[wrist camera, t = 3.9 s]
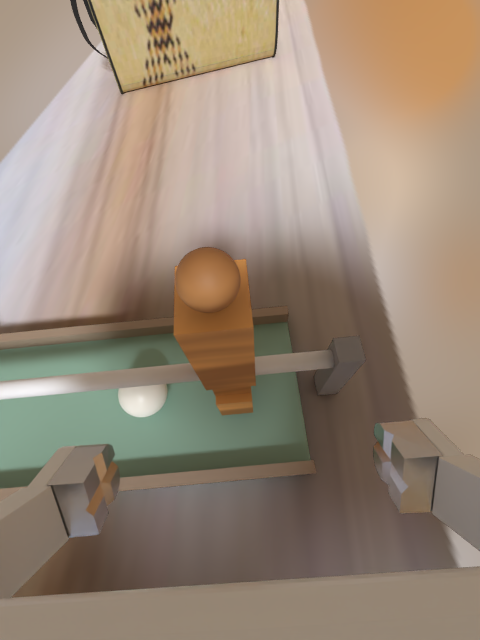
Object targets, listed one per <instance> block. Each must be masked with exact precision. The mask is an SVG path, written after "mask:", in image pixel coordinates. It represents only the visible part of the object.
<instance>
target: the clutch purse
mask: <svg viewBox="0 0 480 640" xmlns="http://www.w3.org/2000/svg"><path fill="white" fill-rule="evenodd" d="M70 1H71V5H72V9H73V13H74V16H75V18H76V21H77V23H78V26H79V28H80V30H81V32H82V34H83V37H84V38H85V40H86V41H87V42H88V44H90V46H91V47H92V48H93V49H95V50H96V51H97V52H98V53H100V52H99V51H98V50H97V49H96V48H95V47H94V46H93V45H92V44H91V42H90V41H89V39H88V37H87V34H86V32H85V30H84V28H83V25H82V22H81V20H80V17H79V14H78V9H77V4H76V0H70ZM83 1H84V4H85V6H86V9H87V12H88V14H89V17H90V19H91V21H92V22H93V24H94V25H95V27H96V28H97V29H98V31H99V34H100V37H101V40H102V43H103V45H104V48H105V51H106V54H107V57H106V56H104V55H103V54H102V53H100V54H101V55H103V56H104V57H106V58H108V59H109V62H110V65H111V68H112V70H113V73H114V76H115V79H116V82H117V84H118V87H119V90H120V92H121V94H123V92H127V91H131V90H135V89H139V88H143V87H147V86H151V85H156V84H160V83H164V82H168V81H172V80H176V79H180V78H184V77H188V76H193V75H197V74H201V73H205V72H209V71H213V70H217V69H221V68H225V67H229V66H234V65H238V64H242V63H246V62H250V61H254V60H258V59H262V58H266V57H271V56H272V57H274V56H275V54H276V49H277V38H278V15H279V0H83Z"/></svg>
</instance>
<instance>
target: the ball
mask: <svg viewBox="0 0 480 640" xmlns="http://www.w3.org/2000/svg"><path fill="white" fill-rule="evenodd" d="M167 393H168V390H167V385H166V384H160V385H150V386H139V387H129V388H119V390H118V399H119V403H120V405H121V407H122V408H123V410H124V411H125V412H127V413H128V414H130V415H132V416H135V417H148V416H151V415H153V414H155V413H156V412H158V411H159V410H160V409H161V408H162V407H163V405H164V403H165V401H166V398H167Z"/></svg>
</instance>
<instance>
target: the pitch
mask: <svg viewBox="0 0 480 640" xmlns="http://www.w3.org/2000/svg"><path fill="white" fill-rule="evenodd" d="M251 310H252V319H253V328H254V353H255V377H256V386H251V393H252V403H253V413H243V414H232V415H222V414H221V413H220V411H219V409H218V407H217V406H216V396H215V394H214V392H213V390H206V389H205V388H204V386H203V384H202V383H201V381H200V379H199V377H198V376H197V374H196V372H195V371H194V369H193V367H192V365H191V364H190V362H189V360H188V359H187V357H186V355H185V354H184V352H183V350H182V348H181V347H180V345H179V343H178V342H177V340H176V338H175V337H174V317H167V318H157V319H147V320H137V321H127V322H116V323H106V324H96V325H86V326H76V327H66V328H55V329H45V330H35V331H25V332H15V333H4V334H0V501H2V500H4V499H5V498H7V497H8V496H10V495H11V494H13V493H15V492H16V491H18V490H19V489H21V488H27V487H28V486H29V484H30V483H31V482H32V481H33V479H34V478H35V477H36V476H37V474H38V473H39V472H40V471H41V470H42V468H43V467H44V466H45V465H46V463H47V462H48V461H49V460H50V458H51V457H52V456H53V455H54V453H55V452H56V451H57V450H58V449H59V448H61V447H65V446H79V445H96V444H110V445H112V446H113V449H114V452H115V456H114V458H113V460H112V461H113V462H114V463H115V464H116V465H117V466H118V468H119V472H120V485H119V490H118V491H128V490H139V489H150V488H161V487H172V486H183V485H194V484H205V483H216V482H227V481H238V480H249V479H260V478H271V477H282V476H293V475H304V474H313V473H316V469H315V463H314V460H311V459H310V453H309V448H308V442H307V436H306V430H305V424H304V418H303V412H302V406H301V400H300V394H299V389H298V383H297V377H296V371H307V370H317V371H316V373H315V375H314V380H315V385H316V391H317V395H326V394H337V393H338V392H339V390H340V389H341V388H342V387H343V386H344V385H345V384H346V382H347V381H348V380H349V379H350V378H351V377H352V376H353V374H354V373H355V372H356V371H357V370H358V369H359V368H360V366H361V365H362V364H363V363H364V362H365V361H366V358H365V354H364V351H363V347H362V344H361V340H360V337H359V336H352V337H341V338H333V340H332V342H331V344H330V346H329V348H328V350H320V351H310V352H300V353H292V347H291V341H290V335H289V329H288V324H287V320H288V314H289V313H288V308H287V306H280V307H269V308H259V309H251ZM160 384H166V385H167V390H168V393H167V398H166V401H165V403H164V405H163V407H162V408H161V409H160V410H159V411H158V412H156V413H155V414H153V415H151V416H148V417H135V416H132V415H130V414H128V413H127V412H125V411H124V410H123V408H122V407H121V405H120V403H119V399H118V390H119V388H129V387H139V386H150V385H160Z"/></svg>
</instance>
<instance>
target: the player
mask: <svg viewBox="0 0 480 640" xmlns="http://www.w3.org/2000/svg"><path fill="white" fill-rule="evenodd" d="M174 337H175V338H176V340H177V342H178V343H179V345H180V347H181V348H182V350H183V352H184V354H185V355H186V357H187V359H188V360H189V362H190V364H191V365H192V367H193V369H194V371H195V372H196V374H197V376H198V377H199V379H200V381H201V383H202V384H203V386H204V388H205V389H206V390H213V392H214V394H215V396H216V406H217V407H218V409H219V411H220V413H221V414H222V415H232V414H243V413H253V403H252V393H251V386H256V377H255V353H254V328H253V319H252V310H251V301H250V292H249V283H248V274H247V265H246V259H242V260H233V259H232V258H231V257H230V256H229V255H228V254H227V253H225V252H224V251H222V250H219V249H217V248H212V247H203V248H198V249H195V250H193V251H191V252H189V253H188V254H187V255H186V256H185V257H184V258H183V259H182V260H181V261H180V263H179V265H178V266H175V287H174Z"/></svg>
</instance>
